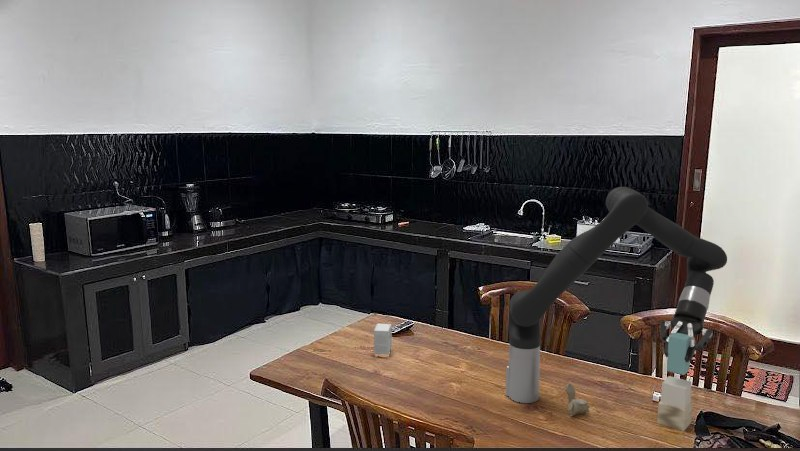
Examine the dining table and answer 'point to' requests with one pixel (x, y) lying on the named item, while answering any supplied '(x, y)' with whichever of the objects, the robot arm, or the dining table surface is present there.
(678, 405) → the cream block
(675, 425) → the beech block
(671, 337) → the teal block
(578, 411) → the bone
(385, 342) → the small box
